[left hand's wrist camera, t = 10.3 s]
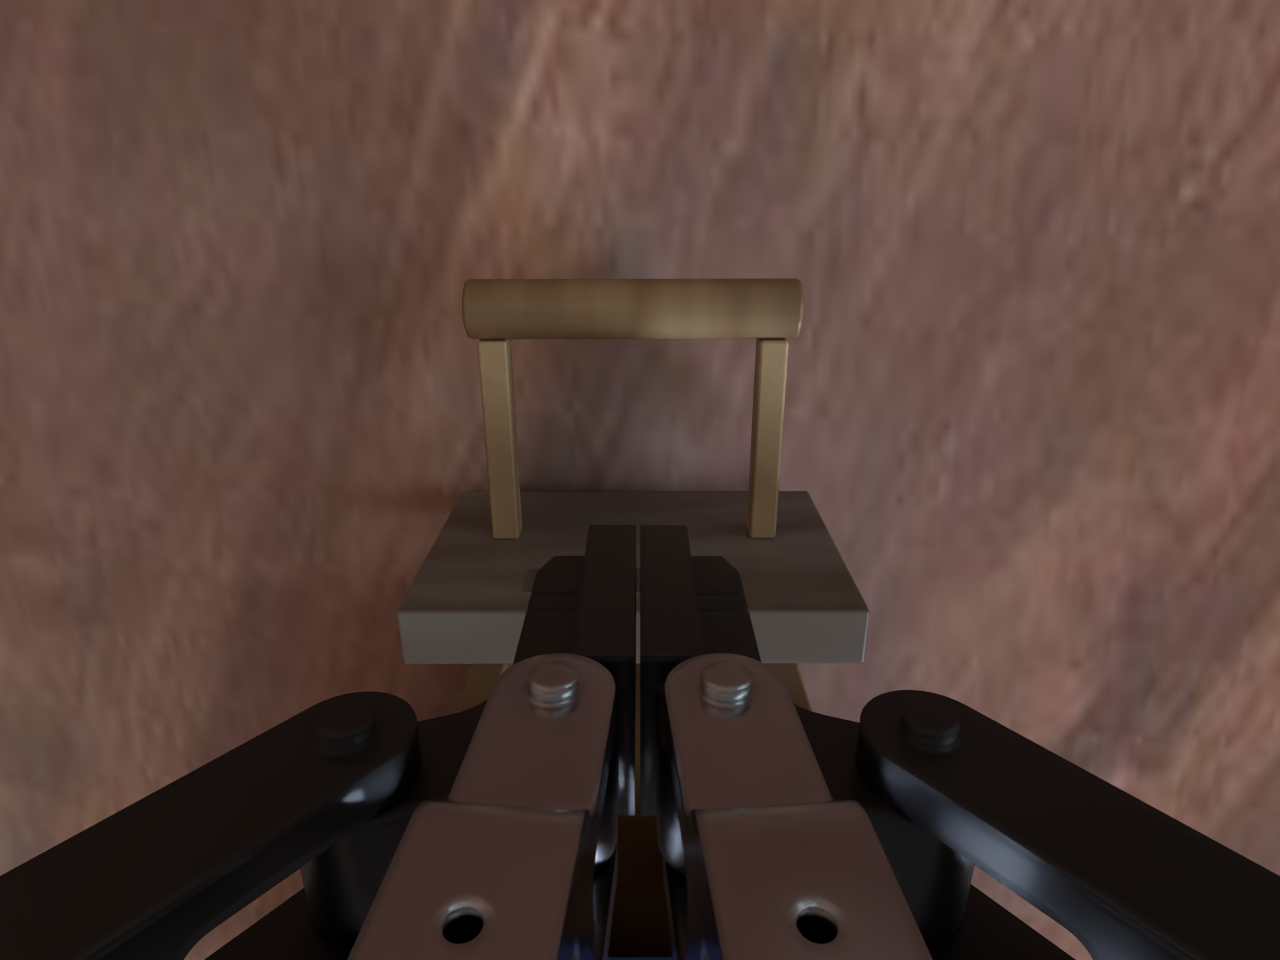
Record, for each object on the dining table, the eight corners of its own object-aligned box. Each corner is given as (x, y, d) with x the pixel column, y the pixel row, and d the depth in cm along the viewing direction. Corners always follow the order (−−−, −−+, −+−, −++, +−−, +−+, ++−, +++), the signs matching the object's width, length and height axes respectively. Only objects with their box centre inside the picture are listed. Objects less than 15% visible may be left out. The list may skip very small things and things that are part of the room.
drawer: (441, 264, 18) (354, 307, 13) (826, 264, 18) (908, 306, 13) (504, 951, 27) (468, 1158, 21) (769, 951, 27) (804, 1158, 21)
